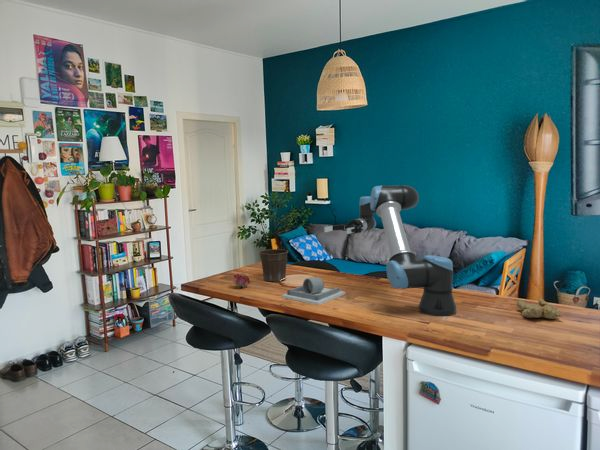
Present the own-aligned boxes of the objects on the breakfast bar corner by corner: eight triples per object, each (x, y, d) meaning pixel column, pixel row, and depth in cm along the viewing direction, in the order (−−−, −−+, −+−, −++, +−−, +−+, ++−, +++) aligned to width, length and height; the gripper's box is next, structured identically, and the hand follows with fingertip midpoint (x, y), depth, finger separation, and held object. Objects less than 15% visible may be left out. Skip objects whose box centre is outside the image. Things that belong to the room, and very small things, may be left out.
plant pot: (254, 279, 252) (253, 251, 250) (276, 275, 263) (275, 247, 261) (272, 284, 240) (271, 255, 238) (294, 279, 251) (294, 251, 249)
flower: (245, 287, 228) (250, 273, 232) (228, 284, 229) (233, 269, 233) (248, 294, 237) (252, 280, 240) (231, 290, 238) (236, 276, 241)
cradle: (345, 294, 219) (345, 287, 219) (318, 305, 202) (318, 298, 202) (309, 287, 233) (309, 281, 233) (281, 297, 216) (281, 290, 215)
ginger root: (564, 322, 169) (559, 302, 169) (518, 327, 176) (514, 307, 176) (562, 312, 183) (557, 293, 183) (519, 316, 190) (515, 298, 190)
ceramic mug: (325, 292, 218) (325, 277, 217) (313, 295, 213) (312, 280, 212) (310, 289, 226) (310, 274, 225) (298, 292, 221) (298, 276, 220)
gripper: (377, 234, 239) (357, 239, 222) (338, 231, 254) (316, 236, 238) (377, 220, 238) (356, 224, 221) (338, 218, 253) (316, 221, 237)
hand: (335, 230), depth 229 cm, fingers open, 13 cm apart
